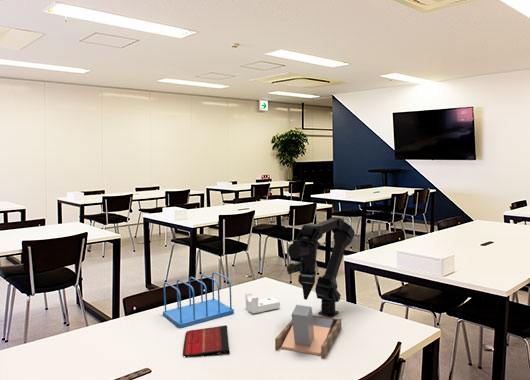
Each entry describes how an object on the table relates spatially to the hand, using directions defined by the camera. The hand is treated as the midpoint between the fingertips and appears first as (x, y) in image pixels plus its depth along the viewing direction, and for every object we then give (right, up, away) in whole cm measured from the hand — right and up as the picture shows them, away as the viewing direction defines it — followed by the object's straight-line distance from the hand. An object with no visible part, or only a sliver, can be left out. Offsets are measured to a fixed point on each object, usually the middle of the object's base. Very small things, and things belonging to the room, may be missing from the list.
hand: (305, 296), depth 169 cm
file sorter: (-44, -11, +14) cm, 48 cm away
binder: (-37, -14, -13) cm, 42 cm away
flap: (0, -13, -11) cm, 17 cm away
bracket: (-17, -11, +19) cm, 28 cm away
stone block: (-2, -11, -17) cm, 20 cm away
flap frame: (0, -13, -11) cm, 17 cm away
